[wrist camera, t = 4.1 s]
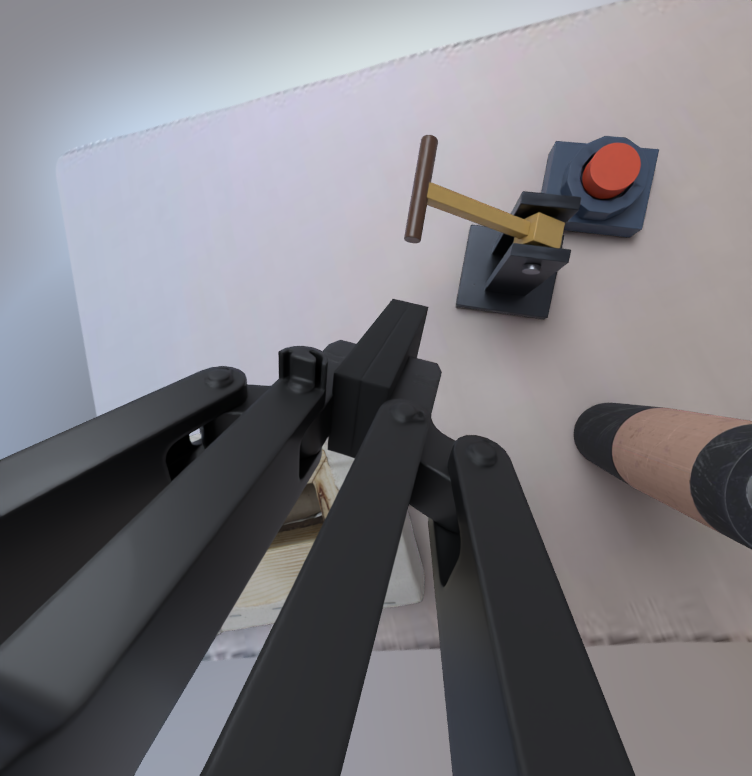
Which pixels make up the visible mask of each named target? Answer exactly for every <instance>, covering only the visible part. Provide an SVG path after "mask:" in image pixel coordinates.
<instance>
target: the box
mask: <svg viewBox="0 0 752 776" xmlns="http://www.w3.org/2000/svg"><path fill="white" fill-rule="evenodd" d="M189 437H190V441H191V442H194V441H196V440H199V439H200V438H201V434H196V435H192V436H189ZM327 449H328V438H327V440H326V442H325V443H324V445H323V446H322V456H321V460H320V463H319V464H318V466H317V468H316V469H315V471H314V473H313V474H312V476H311V478H310V479H309V481H308V483H307V484H306V486H305V488H304V489H303V491H302V493H301V495H300V496H299V498H298V500H297V501H296V503H295V505H294V506H293V508H292V510H291V511H290V513H289V515H288V516H287V518H286V520H285V521H284V523H283V525H282V526H281V528H280V530H279V531H278V533H277V535H276V537H275V538H274V540H273V542H272V543H271V545H270V547H269V548H268V550H267V552H266V553H265V555H264V557H263V558H262V560H261V562H260V563H259V565H258V567H257V568H256V570H255V572H254V573H253V575H252V577H251V579H250V580H249V582H248V584H247V585H246V587H245V589H244V590H243V592H242V594H241V595H240V597H239V599H238V600H237V602H236V604H235V605H234V607H233V609H232V610H231V612H230V614H229V615H228V617H227V619H226V620H225V622H224V624H223V626H222V627H221V629H220V631H219V632H218V634H217V635H219V634H221V633H222V632H227V631H233V630H239V629H246V628H251V627H257V626H264V625H269V624H274V623H275V621H276V619H277V617H278V615H279V613H280V611H281V609H282V607H283V605H284V603H285V600H286V598H287V596H288V594H289V592H290V590H291V588H292V586H293V584H294V582H295V580H296V578H297V576H298V574H299V572H300V570H301V568H302V566H303V564H304V562H305V559H306V557H307V555H308V553H309V551H310V549H311V547H312V545H313V543H314V541H315V539H316V537H317V535H318V533H319V531H320V529H321V527H322V525H323V523H324V521H325V518H326V516H327V514H328V512H329V510H330V508H331V506H332V504H333V502H334V500H335V498H336V496H337V494H338V492H339V490H340V488H341V486H342V484H343V482H344V480H345V477H346V475H347V473H348V471H349V469H350V467H351V465H352V463H353V461H354V459H355V458H352V457H349V456H346V455H343V454H339V453H336V452H333V451H330V450H327ZM424 579H425V577H424V568H423V565H422V563H421V559H420V555H419V552H418V547H417V544H416V540H415V536H414V532H413V528H412V524H411V520H410V516H409V512H408V510H407V514H406V518H405V522H404V526H403V530H402V534H401V538H400V542H399V546H398V550H397V554H396V558H395V562H394V566H393V570H392V573H391V577H390V581H389V585H388V589H387V593H386V597H385V601H384V605H383V608H391V607H397V606H403V605H409V604H416V603H419V602H421V601H422V600H423V596H424V585H425V581H424Z"/></svg>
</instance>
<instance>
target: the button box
mask: <svg viewBox="0 0 752 776" xmlns="http://www.w3.org/2000/svg"><path fill="white" fill-rule="evenodd" d="M612 143H624V144H627V145H630V146H631V147H633V148H634V149H635V150H636V151H637V153H638V155H639V157H640V162H641V166H640V171H639V174H638V176H637V178H636V179H635V180H634V181H633V182H632V183H631V184H630V185H629V186H628V187H627V188H626V189H625V190H624V191H623V192H622V193H620V194H619V195H617V196H615V197H613V198H610V199H597V198H595V197H592V196H591V195H590V194H588V193H587V191H586V190H585V188H584V186H583V182H582V176H583V172H584V169H585V167H586V166H587V164H588V163H589V162H590V160H591V159H592V158H593V157H594V155H595V154H596V153H597V152H598V151H599V150H600V149H601V148H603V147H604V146H606V145H609V144H612ZM658 152H659V149H648V148H640V147H639V146H637V145H636V144H634V143H633V142H632V141H630V140H629V139H627V138H624V137H611V136H604V137H602V138H599V139H597V140H595V141H592V142H590V143H588V144H586V143H574V142H562V141H556V142H555V144H554V146H553V148H552V149H551V151H550V153H549V155H548V160H547V166H546V171H545V176H544V181H543V186H542V191H541V193H545V194H555V195H565V196H575V197H581V203H580V208H579V210H578V211H577V212H576V213H575V214H574V216H573V217H572V218H571V219H570V220H569V221H568V222H567V223H566V224H565V225H564V230H567V231H576V232H585V233H594V234H603V235H612V236H620V237H631V236H633V235H634V234H636V233H637V232H639V231H640V230H642V226H643V222H644V217H645V213H646V208H647V203H648V199H649V194H650V189H651V185H652V180H653V176H654V171H655V166H656V162H657V157H658Z"/></svg>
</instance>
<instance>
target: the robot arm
mask: <svg viewBox="0 0 752 776" xmlns="http://www.w3.org/2000/svg"><path fill="white" fill-rule="evenodd" d="M427 311H428V307H426V306H422V305H418V304H413V303H409V302H405V301H400V300H396V299H392V301H391V302H390V303H389V304H388V306H387V307H386V308H385V309H384V311H383V312H382V313H381V314H380V316H379V317H378V318H377V319H376V321H375V322H374V323H373V324H372V326H371V327H370V328H369V329H368V331H367V332H366V333H365V334H364V336H363V337H362V338H361V339H360V340H359V342H358V343H357V344H355V343H351V342H347V341H343V340H339V341H336V342H334V343H331V344H329V345H328V346H327V347H326V348H325V349H324V350H323V352H322V351H321V350H318V349H316V348H313V347H306V346H293V347H288V348H285V349H283V350H281V351H279V379H278V380H277V381H276V382H275V383H274V384H273V385H272V386H261V385H247V379H246V376H245V373H243V372H242V371H241V370H239V369H236V368H233V367H227V366H226V367H225V366H219V367H211V368H208V369H205V370H202V371H200V372H197V373H195V374H193V375H190V376H188V377H186V378H184V379H181V380H179V381H177V382H175V383H172V384H170V385H168V386H166V387H163V388H161V389H159V390H157V391H154V392H152V393H150V394H148V395H145V396H143V397H141V398H139V399H136V400H134V401H132V402H129V403H127V404H125V405H123V406H120V407H118V408H116V409H114V410H111V411H109V412H107V413H105V414H102V415H100V416H98V417H96V418H93V419H91V420H89V421H87V422H84V423H82V424H80V425H78V426H75V427H73V428H71V429H69V430H66V431H64V432H62V433H59V434H57V435H55V436H53V437H50V438H48V439H46V440H44V441H42V442H39V443H37V444H35V445H33V446H30V447H28V448H26V449H24V450H21V451H19V452H17V453H14V454H12V455H10V456H8V457H5V458H3V459H1V460H0V776H134V775H135V773H136V771H137V769H138V767H139V765H140V764H141V762H142V760H143V758H144V757H145V755H146V753H147V751H148V750H149V748H150V746H151V745H152V743H153V741H154V740H155V738H156V736H157V735H158V733H159V731H160V730H161V728H162V726H163V725H164V723H165V721H166V720H167V718H168V716H169V715H170V713H171V711H172V709H173V708H174V706H175V704H176V703H177V701H178V699H179V698H180V696H181V694H182V693H183V691H184V689H185V688H186V686H187V684H188V682H189V681H190V679H191V678H192V676H193V674H194V673H195V671H196V669H197V667H198V666H199V664H200V662H201V661H202V659H203V657H204V656H205V654H206V652H207V651H208V649H209V647H210V646H211V644H212V642H213V641H214V639H215V637H216V636H217V634H218V632H219V631H220V629H221V627H222V626H223V624H224V622H225V620H226V619H227V617H228V615H229V614H230V612H231V610H232V609H233V607H234V605H235V604H236V602H237V600H238V599H239V597H240V595H241V594H242V592H243V590H244V589H245V587H246V585H247V584H248V582H249V580H250V579H251V577H252V575H253V573H254V572H255V570H256V568H257V567H258V565H259V563H260V562H261V560H262V558H263V557H264V555H265V553H266V552H267V550H268V548H269V547H270V545H271V543H272V542H273V540H274V538H275V537H276V535H277V533H278V531H279V530H280V528H281V526H282V525H283V523H284V521H285V520H286V518H287V516H288V515H289V513H290V511H291V510H292V508H293V506H294V505H295V503H296V501H297V500H298V498H299V496H300V495H301V493H302V491H303V489H304V488H305V486H306V484H307V483H308V481H309V479H310V478H311V476H312V474H313V473H314V471H315V469H316V468H317V466H318V464H319V463H320V460H321V456H322V446H323V445H324V443H325V442H326V440H327V438H328V449H327V450H330V451H333V452H336V453H339V454H343V455H346V456H349V457H352V458H355V459H354V461H353V463H352V465H351V467H350V469H349V471H348V473H347V475H346V477H345V480H344V482H343V484H342V486H341V488H340V490H339V492H338V494H337V496H336V498H335V500H334V502H333V504H332V506H331V508H330V510H329V512H328V514H327V516H326V518H325V521H324V523H323V525H322V527H321V529H320V531H319V533H318V535H317V537H316V539H315V541H314V543H313V545H312V547H311V549H310V551H309V553H308V555H307V557H306V559H305V562H304V564H303V566H302V568H301V570H300V572H299V574H298V576H297V578H296V580H295V582H294V584H293V586H292V588H291V590H290V592H289V594H288V596H287V598H286V600H285V603H284V605H283V607H282V609H281V611H280V613H279V615H278V617H277V619H276V621H275V623H274V625H273V627H272V629H271V631H270V633H269V635H268V637H267V639H266V641H265V644H264V646H263V648H262V650H261V652H260V654H259V656H258V658H257V660H256V662H255V664H254V666H253V668H252V670H251V672H250V674H249V676H248V678H247V681H246V682H245V685H244V687H243V689H242V691H241V693H240V695H239V697H238V699H237V701H236V703H235V705H234V707H233V709H232V711H231V713H230V715H229V717H228V719H227V721H226V724H225V726H224V728H223V730H222V732H221V734H220V736H219V738H218V740H217V742H216V744H215V746H214V748H213V750H212V752H211V754H210V756H209V758H208V760H207V762H206V764H205V766H204V768H203V770H202V772H201V774H200V776H340V774H341V771H342V767H343V763H344V759H345V755H346V751H347V747H348V743H349V739H350V735H351V731H352V728H353V724H354V720H355V716H356V712H357V708H358V704H359V700H360V696H361V692H362V688H363V684H364V680H365V676H366V672H367V668H368V664H369V660H370V656H371V652H372V649H373V645H374V641H375V637H376V633H377V629H378V625H379V621H380V617H381V613H382V609H383V605H384V601H385V597H386V593H387V589H388V585H389V581H390V577H391V573H392V570H393V566H394V562H395V558H396V554H397V550H398V546H399V542H400V538H401V534H402V530H403V526H404V522H405V518H406V514H407V510H408V506H409V505H411V506H412V507H414V508H416V509H417V510H419V511H420V512H422V513H423V514H425V515H426V516H428V517H429V518H428V527H429V537H430V547H431V557H432V568H433V578H434V588H435V599H436V609H437V619H438V629H439V640H440V650H441V660H442V670H443V681H444V689H445V690H444V691H445V701H446V711H447V721H448V731H449V742H450V752H451V761H452V762H451V763H452V772H453V776H635V773H634V771H633V768H632V766H631V763H630V761H629V758H628V756H627V753H626V751H625V748H624V746H623V743H622V741H621V738H620V735H619V733H618V730H617V728H616V725H615V723H614V720H613V718H612V715H611V713H610V710H609V708H608V705H607V703H606V700H605V698H604V695H603V692H602V690H601V687H600V685H599V682H598V680H597V677H596V675H595V672H594V670H593V667H592V665H591V662H590V659H589V657H588V654H587V652H586V649H585V647H584V644H583V642H582V639H581V637H580V634H579V632H578V629H577V627H576V624H575V621H574V619H573V616H572V614H571V611H570V609H569V606H568V604H567V601H566V599H565V596H564V594H563V591H562V589H561V586H560V583H559V581H558V578H557V576H556V573H555V571H554V568H553V566H552V563H551V561H550V558H549V556H548V553H547V551H546V548H545V545H544V543H543V540H542V538H541V535H540V533H539V530H538V528H537V525H536V523H535V520H534V518H533V515H532V513H531V510H530V507H529V505H528V502H527V500H526V497H525V495H524V492H523V490H522V487H521V485H520V482H519V480H518V477H517V475H516V472H515V469H514V467H513V464H512V462H511V459H510V457H509V456H508V454H507V453H506V451H505V450H504V449H503V448H502V447H501V446H499V445H498V444H497V443H495V442H493V441H491V440H489V439H488V438H485V437H481V436H477V435H466V436H463V437H460V438H458V439H457V440H456V441H455V440H453V439H451V438H449V437H447V436H446V435H444V434H443V433H441V432H440V431H439V430H438V429H437V428H436V427H435V425H434V424H433V422H432V419H431V413H432V409H433V405H434V401H435V397H436V393H437V389H438V385H439V381H440V377H441V373H442V372H441V370H440V368H439V366H438V364H437V363H433V362H429V361H426V360H422V359H418V358H417V354H418V350H419V346H420V341H421V337H422V333H423V328H424V324H425V320H426V315H427ZM198 428H199V429H200V434H201V438H200V439H199V440H196V441H194V442H191V441H190V437H189V434H190V433H192V432H193V431H195V430H197V429H198Z"/></svg>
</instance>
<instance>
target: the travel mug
mask: <svg viewBox="0 0 752 776" xmlns="http://www.w3.org/2000/svg"><path fill="white" fill-rule="evenodd" d="M574 439H575V443H576V446H577V448H578V450H579V451H580V453H581V454H582V455H583V456H584V457H585V458H586V459H588V460H589V461H591V462H592V463H594V464H595V465H597V466H599V467H600V468H602V469H604V470H605V471H607V472H609V473H610V474H612V475H614V476H615V477H617V478H619V479H620V480H622V481H623V482H625V483H627V484H628V485H630V486H632V487H634V488H635V489H637V490H639V491H641V492H643V493H645V494H647V495H649V496H651V497H653V498H654V499H656V500H658V501H660V502H662V503H664V504H666V505H668V506H670V507H672V508H674V509H675V510H677V511H679V512H681V513H683V514H685V515H687V516H689V517H691V518H693V519H695V520H696V521H698V522H700V523H702V524H704V525H706V526H708V527H710V528H712V529H714V530H716V531H717V532H719V533H721V534H723V535H725V536H727V537H729V538H731V539H733V540H735V541H737V542H738V543H740V544H742V545H744V546H746V547H748V548H750V549H752V421H748V420H741V419H735V418H728V417H722V416H715V415H709V414H703V413H696V412H690V411H683V410H677V409H670V408H661V407H651V406H641V405H630V404H619V403H602V404H598V405H595V406H593V407H591V408H589V409H587V410H586V411H585V412H584V413H583V414H582V415H581V416H580V417H579V419H578V420H577V422H576V425H575V429H574Z"/></svg>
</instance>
